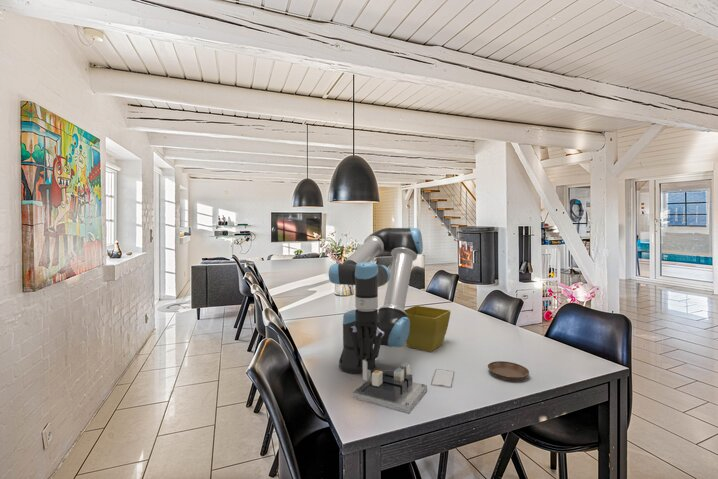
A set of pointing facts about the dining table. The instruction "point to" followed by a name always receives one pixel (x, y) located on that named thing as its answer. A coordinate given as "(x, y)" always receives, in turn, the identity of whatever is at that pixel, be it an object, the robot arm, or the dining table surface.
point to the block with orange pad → (377, 378)
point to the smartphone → (443, 378)
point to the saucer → (508, 370)
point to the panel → (391, 403)
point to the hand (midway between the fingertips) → (366, 378)
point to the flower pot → (427, 327)
